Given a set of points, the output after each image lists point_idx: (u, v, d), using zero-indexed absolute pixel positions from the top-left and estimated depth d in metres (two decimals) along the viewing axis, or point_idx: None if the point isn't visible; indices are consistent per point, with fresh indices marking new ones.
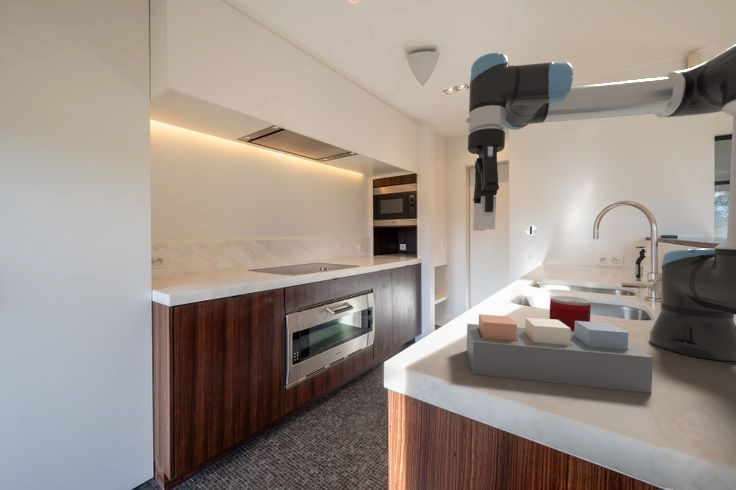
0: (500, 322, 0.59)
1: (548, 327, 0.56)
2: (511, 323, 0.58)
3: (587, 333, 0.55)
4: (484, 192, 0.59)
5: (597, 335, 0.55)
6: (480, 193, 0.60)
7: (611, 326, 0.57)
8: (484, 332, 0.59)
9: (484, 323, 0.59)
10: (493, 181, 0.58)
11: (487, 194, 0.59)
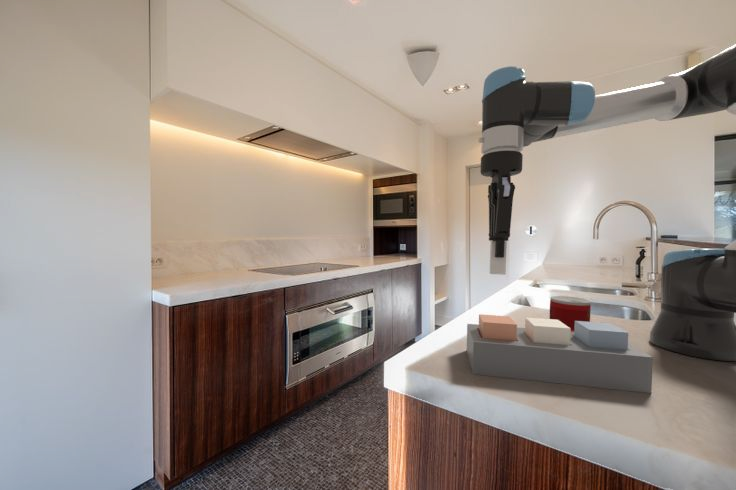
0: (500, 322, 0.59)
1: (548, 327, 0.56)
2: (511, 323, 0.58)
3: (587, 333, 0.55)
4: (494, 239, 0.59)
5: (597, 335, 0.55)
6: (490, 240, 0.59)
7: (611, 326, 0.57)
8: (484, 332, 0.59)
9: (484, 323, 0.59)
10: (505, 230, 0.57)
11: (498, 240, 0.59)
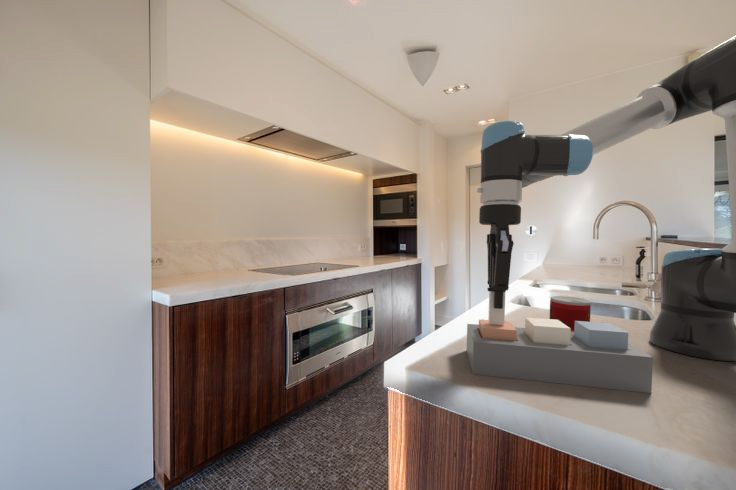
0: (500, 328, 0.59)
1: (548, 327, 0.56)
2: (511, 329, 0.58)
3: (587, 333, 0.55)
4: (493, 290, 0.59)
5: (597, 335, 0.55)
6: (489, 291, 0.60)
7: (611, 326, 0.57)
8: None
9: (484, 328, 0.59)
10: (503, 283, 0.57)
11: (496, 291, 0.59)
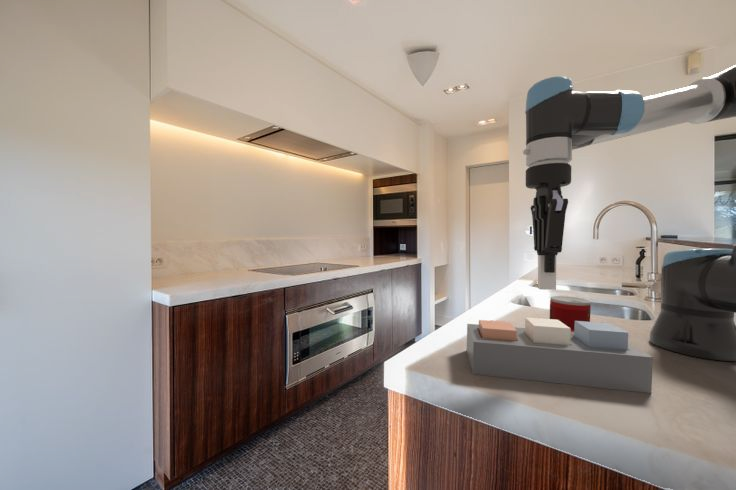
0: (500, 328, 0.59)
1: (548, 327, 0.56)
2: (511, 329, 0.58)
3: (587, 333, 0.55)
4: (544, 254, 0.57)
5: (597, 335, 0.55)
6: (539, 255, 0.58)
7: (611, 326, 0.57)
8: None
9: (484, 329, 0.59)
10: (556, 244, 0.55)
11: (548, 255, 0.57)
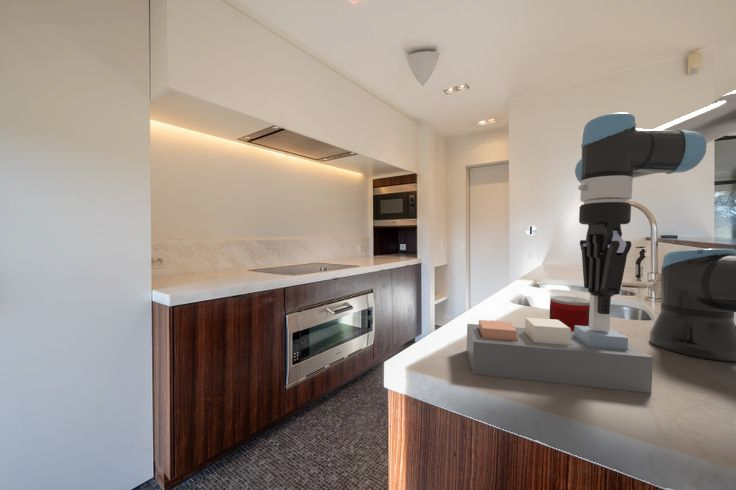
0: (500, 328, 0.59)
1: (548, 327, 0.56)
2: (511, 329, 0.58)
3: (587, 338, 0.55)
4: (599, 295, 0.55)
5: (597, 340, 0.55)
6: (594, 295, 0.56)
7: (611, 331, 0.57)
8: None
9: (484, 329, 0.59)
10: (615, 287, 0.53)
11: (603, 296, 0.55)
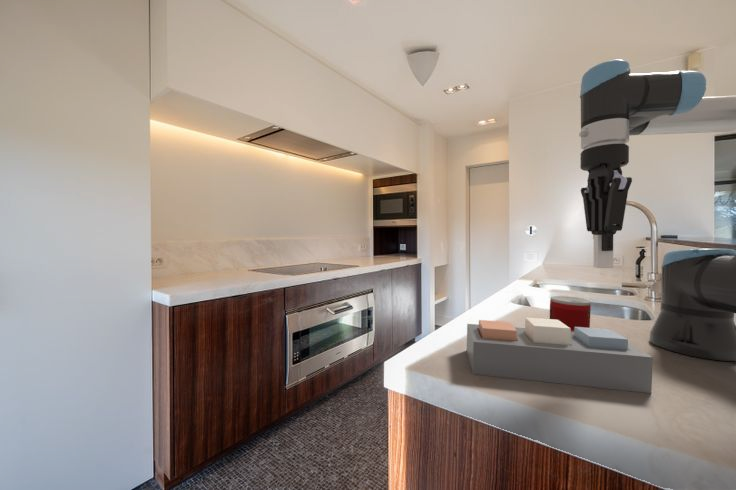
0: (500, 328, 0.59)
1: (548, 327, 0.56)
2: (511, 329, 0.58)
3: (587, 340, 0.55)
4: (602, 233, 0.59)
5: (597, 341, 0.55)
6: (598, 234, 0.59)
7: (611, 332, 0.57)
8: None
9: (484, 329, 0.59)
10: (617, 223, 0.57)
11: (607, 233, 0.58)
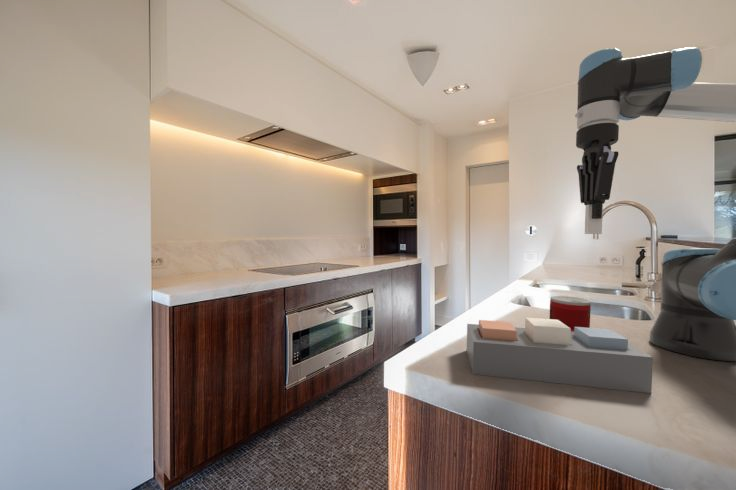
0: (500, 328, 0.59)
1: (548, 327, 0.56)
2: (511, 329, 0.58)
3: (587, 340, 0.55)
4: (592, 202, 0.67)
5: (597, 341, 0.55)
6: (588, 203, 0.67)
7: (611, 332, 0.57)
8: None
9: (484, 329, 0.59)
10: (605, 192, 0.64)
11: (596, 203, 0.66)
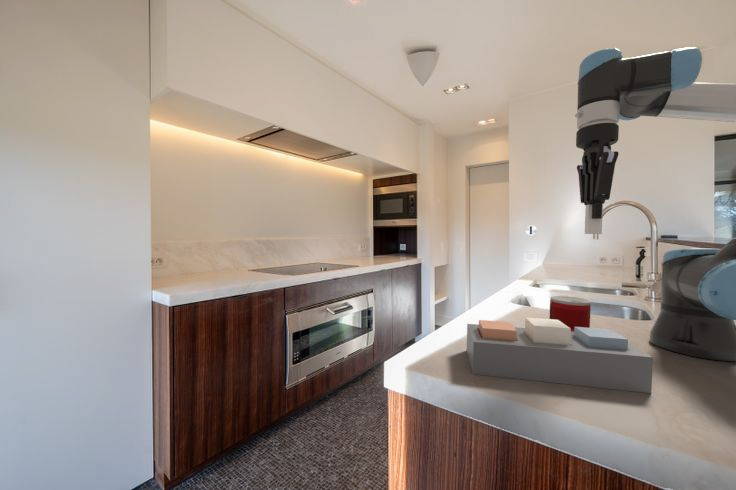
0: (500, 328, 0.59)
1: (548, 327, 0.56)
2: (511, 329, 0.58)
3: (587, 340, 0.55)
4: (592, 202, 0.67)
5: (597, 341, 0.55)
6: (588, 203, 0.67)
7: (611, 332, 0.57)
8: None
9: (484, 329, 0.59)
10: (605, 192, 0.64)
11: (596, 203, 0.66)
